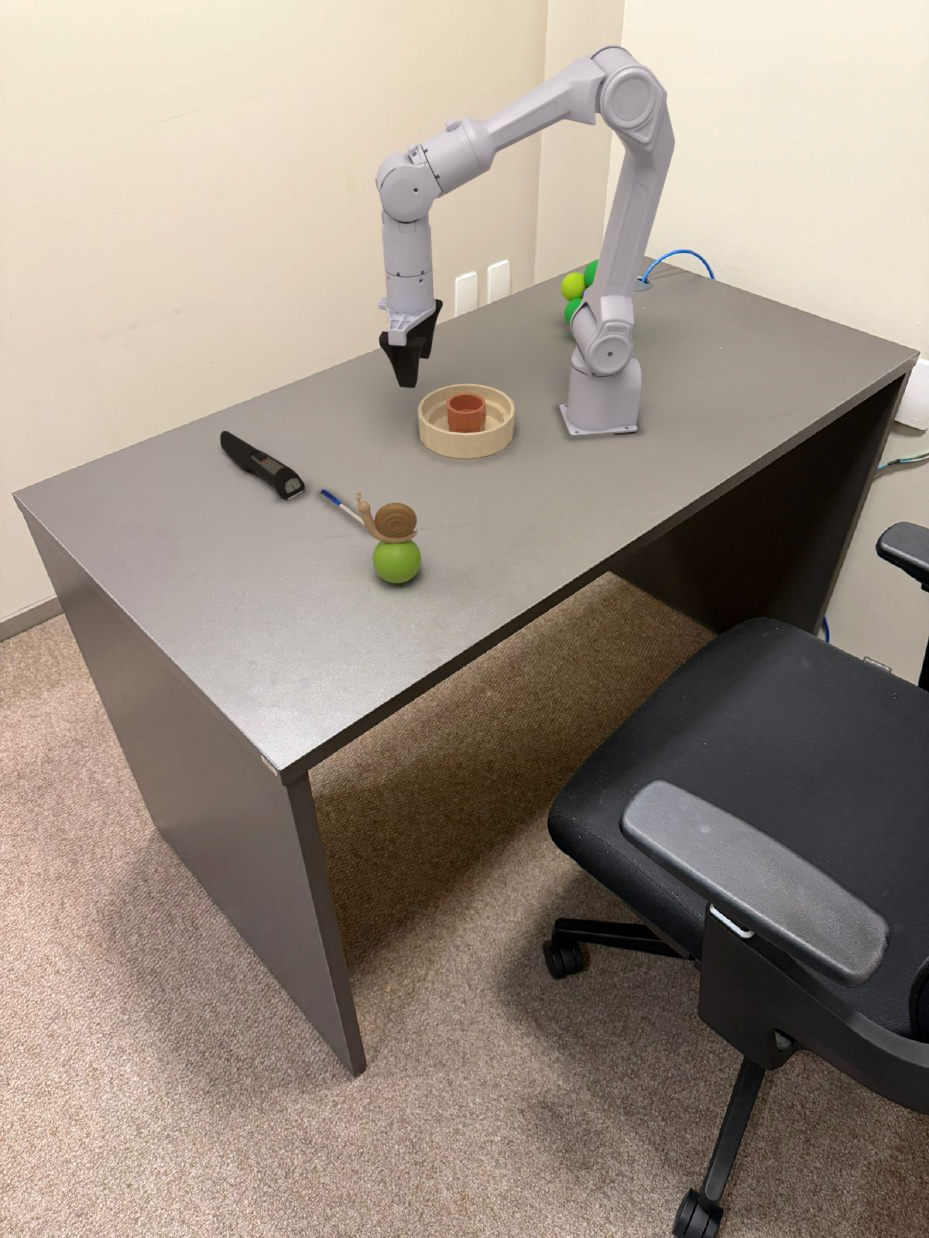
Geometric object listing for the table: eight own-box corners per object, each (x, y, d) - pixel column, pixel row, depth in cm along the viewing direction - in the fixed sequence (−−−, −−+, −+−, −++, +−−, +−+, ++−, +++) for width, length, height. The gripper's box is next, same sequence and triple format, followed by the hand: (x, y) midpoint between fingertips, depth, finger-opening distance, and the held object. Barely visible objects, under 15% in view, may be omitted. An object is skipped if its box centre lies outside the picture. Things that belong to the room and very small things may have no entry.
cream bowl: (505, 406, 124) (505, 380, 121) (521, 457, 115) (522, 430, 112) (415, 414, 123) (414, 387, 120) (424, 465, 114) (422, 438, 111)
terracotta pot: (482, 420, 121) (482, 391, 118) (488, 441, 117) (488, 412, 114) (445, 423, 120) (444, 394, 117) (450, 444, 117) (449, 415, 113)
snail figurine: (366, 563, 100) (355, 478, 92) (421, 560, 100) (415, 474, 92) (366, 595, 96) (355, 509, 88) (423, 591, 97) (417, 505, 88)
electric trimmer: (239, 444, 119) (235, 424, 116) (308, 489, 110) (304, 469, 108) (216, 455, 117) (211, 435, 114) (284, 502, 109) (279, 481, 106)
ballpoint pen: (318, 495, 110) (317, 489, 109) (324, 492, 110) (323, 486, 109) (370, 533, 104) (370, 526, 103) (376, 529, 105) (375, 523, 104)
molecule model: (584, 295, 142) (553, 276, 135) (631, 271, 136) (601, 250, 130) (591, 344, 140) (560, 327, 134) (638, 322, 135) (608, 303, 128)
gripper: (391, 241, 108) (399, 342, 118) (359, 291, 98) (369, 397, 108) (446, 245, 107) (449, 347, 117) (419, 295, 97) (424, 402, 106)
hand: (414, 371), depth 112 cm, fingers open, 7 cm apart
